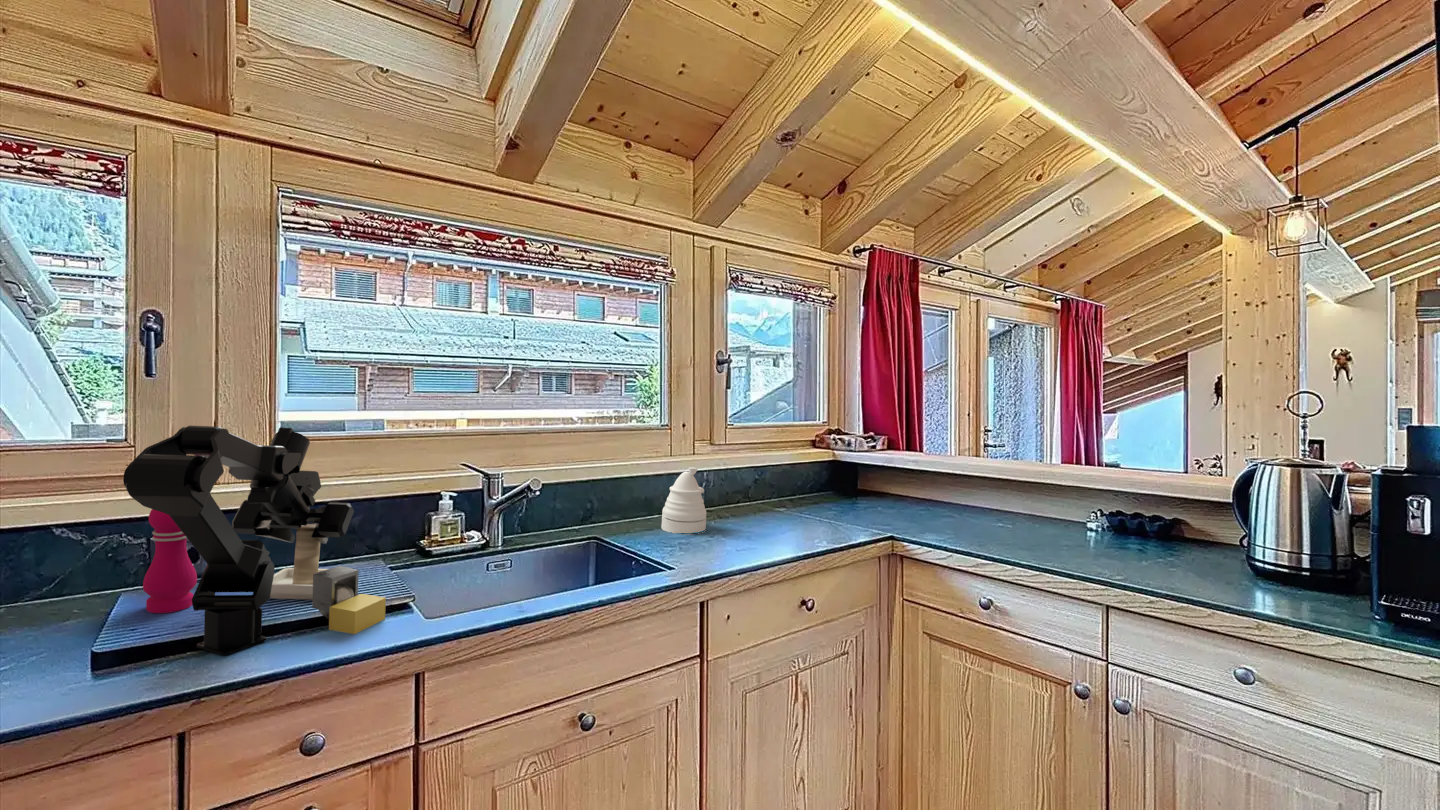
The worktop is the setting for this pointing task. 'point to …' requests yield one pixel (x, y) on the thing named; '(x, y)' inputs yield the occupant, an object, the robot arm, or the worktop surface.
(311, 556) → the pin
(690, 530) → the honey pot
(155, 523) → the pepper mill
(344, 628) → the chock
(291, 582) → the tray
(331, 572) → the wheel bracket
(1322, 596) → the worktop surface
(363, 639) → the worktop surface
